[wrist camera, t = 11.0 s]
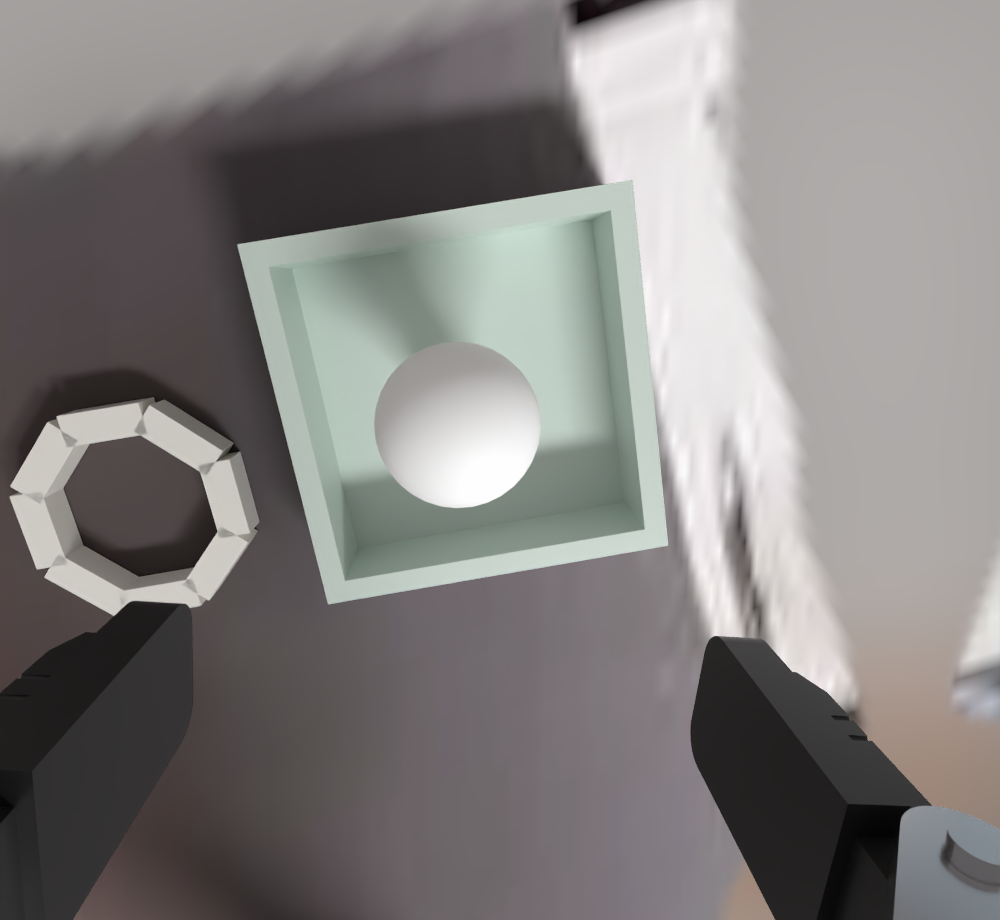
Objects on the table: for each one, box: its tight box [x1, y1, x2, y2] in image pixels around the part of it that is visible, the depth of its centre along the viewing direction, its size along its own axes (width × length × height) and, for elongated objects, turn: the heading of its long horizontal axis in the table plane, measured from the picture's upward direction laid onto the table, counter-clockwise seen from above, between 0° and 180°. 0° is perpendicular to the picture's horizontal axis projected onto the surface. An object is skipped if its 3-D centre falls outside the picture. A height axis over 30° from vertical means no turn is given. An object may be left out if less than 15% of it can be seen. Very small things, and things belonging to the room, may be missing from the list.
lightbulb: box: [374, 342, 541, 508], centre depth 27 cm, size 6×6×11 cm
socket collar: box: [10, 397, 259, 616], centre depth 32 cm, size 10×10×2 cm
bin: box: [237, 180, 668, 604], centre depth 30 cm, size 16×16×4 cm
